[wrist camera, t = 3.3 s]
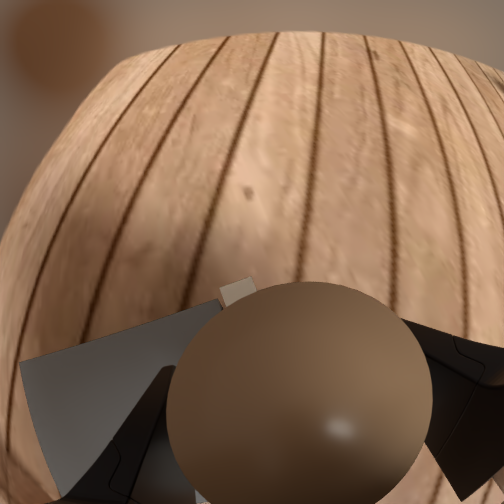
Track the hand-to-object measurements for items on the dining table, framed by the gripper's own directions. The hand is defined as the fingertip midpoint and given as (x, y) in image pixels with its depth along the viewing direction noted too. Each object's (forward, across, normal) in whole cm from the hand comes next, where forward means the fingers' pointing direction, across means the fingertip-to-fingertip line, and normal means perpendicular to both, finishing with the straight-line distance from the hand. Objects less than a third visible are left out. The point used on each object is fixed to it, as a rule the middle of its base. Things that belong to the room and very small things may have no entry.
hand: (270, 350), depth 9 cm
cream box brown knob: (+5, +6, +8) cm, 11 cm away
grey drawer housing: (+5, +8, +8) cm, 12 cm away
